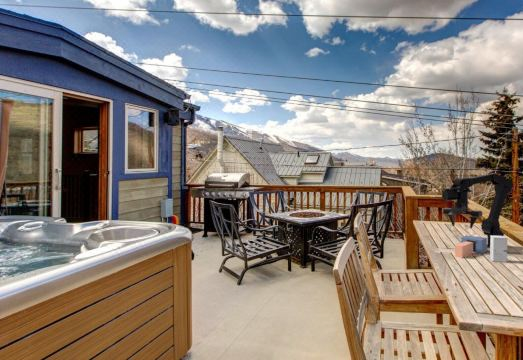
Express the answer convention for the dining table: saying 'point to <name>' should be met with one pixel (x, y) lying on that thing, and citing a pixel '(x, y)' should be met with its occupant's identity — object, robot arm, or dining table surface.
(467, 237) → the block
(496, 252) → the skincare box
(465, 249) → the salmon pink prism
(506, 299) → the dining table surface
